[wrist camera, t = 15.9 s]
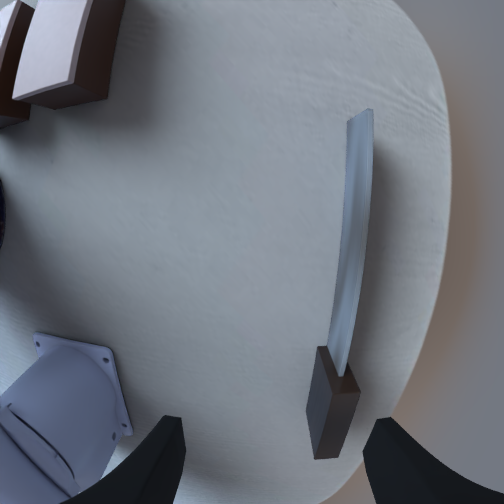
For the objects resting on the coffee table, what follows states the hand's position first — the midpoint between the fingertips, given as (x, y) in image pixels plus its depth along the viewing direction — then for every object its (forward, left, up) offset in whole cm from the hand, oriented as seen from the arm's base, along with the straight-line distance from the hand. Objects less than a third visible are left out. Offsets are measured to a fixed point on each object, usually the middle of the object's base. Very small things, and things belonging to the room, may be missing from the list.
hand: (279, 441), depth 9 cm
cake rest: (+18, +20, -9) cm, 29 cm away
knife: (+3, -4, -9) cm, 11 cm away
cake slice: (+19, +13, -9) cm, 25 cm away
